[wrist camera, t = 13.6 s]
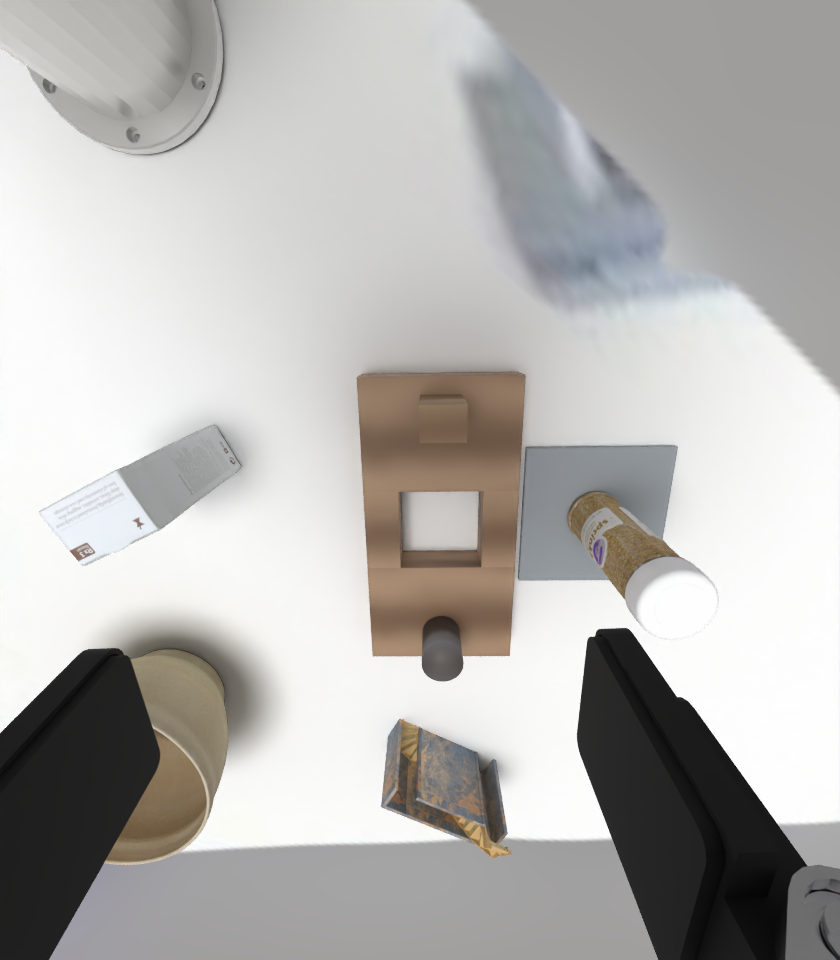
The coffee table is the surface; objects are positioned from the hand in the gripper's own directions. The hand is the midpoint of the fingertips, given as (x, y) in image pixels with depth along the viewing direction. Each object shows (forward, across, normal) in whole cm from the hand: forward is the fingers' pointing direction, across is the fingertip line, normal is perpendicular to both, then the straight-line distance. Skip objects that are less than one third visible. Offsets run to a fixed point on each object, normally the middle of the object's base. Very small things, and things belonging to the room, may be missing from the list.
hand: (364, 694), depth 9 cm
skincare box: (+29, +17, +3) cm, 33 cm away
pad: (+27, -16, +9) cm, 33 cm away
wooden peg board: (+28, -3, +9) cm, 29 cm away
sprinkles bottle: (+27, -16, +9) cm, 33 cm away
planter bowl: (+28, +24, +26) cm, 45 cm away
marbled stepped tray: (+27, -2, +35) cm, 44 cm away
